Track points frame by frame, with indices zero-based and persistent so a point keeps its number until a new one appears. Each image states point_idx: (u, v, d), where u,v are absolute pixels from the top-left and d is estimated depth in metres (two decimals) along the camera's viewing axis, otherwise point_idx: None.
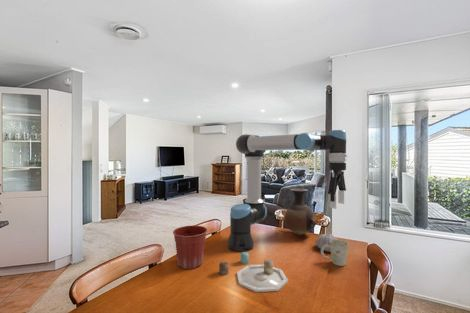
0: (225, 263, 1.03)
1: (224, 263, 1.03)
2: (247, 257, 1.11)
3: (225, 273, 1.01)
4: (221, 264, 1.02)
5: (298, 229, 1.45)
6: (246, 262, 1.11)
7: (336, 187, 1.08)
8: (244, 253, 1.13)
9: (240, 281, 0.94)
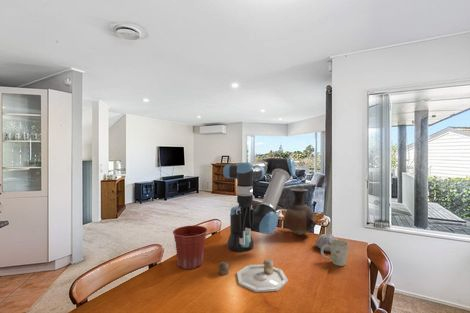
0: (225, 263, 1.03)
1: (224, 263, 1.03)
2: (247, 238, 1.12)
3: (225, 273, 1.01)
4: (221, 264, 1.02)
5: (298, 229, 1.45)
6: (246, 243, 1.11)
7: (243, 223, 1.10)
8: None
9: (240, 281, 0.94)
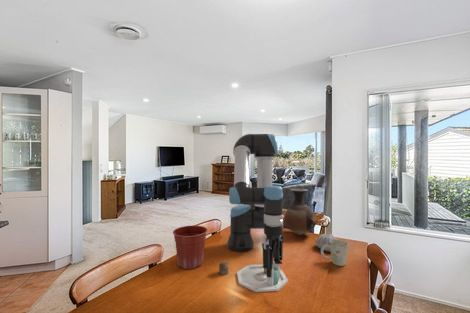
0: (225, 263, 1.03)
1: (224, 263, 1.03)
2: (276, 274, 0.93)
3: (225, 273, 1.01)
4: (221, 264, 1.02)
5: (298, 229, 1.45)
6: (275, 280, 0.93)
7: (272, 259, 0.92)
8: None
9: (240, 281, 0.94)
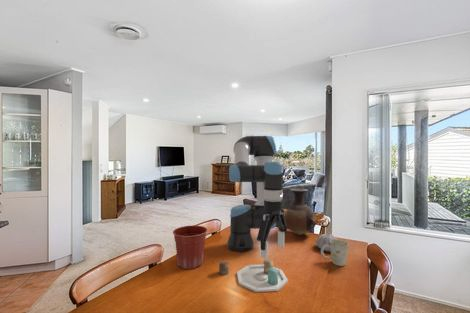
0: (225, 263, 1.03)
1: (224, 263, 1.03)
2: (276, 274, 0.93)
3: (225, 273, 1.01)
4: (221, 264, 1.02)
5: (298, 229, 1.45)
6: (275, 280, 0.93)
7: (268, 232, 0.90)
8: (272, 269, 0.95)
9: (240, 281, 0.94)
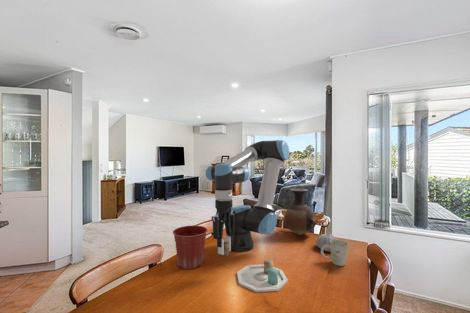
0: (226, 243, 1.03)
1: (225, 243, 1.03)
2: (276, 274, 0.93)
3: (226, 252, 1.01)
4: None
5: (298, 229, 1.45)
6: (275, 280, 0.93)
7: (222, 231, 1.00)
8: (272, 269, 0.95)
9: (240, 281, 0.94)
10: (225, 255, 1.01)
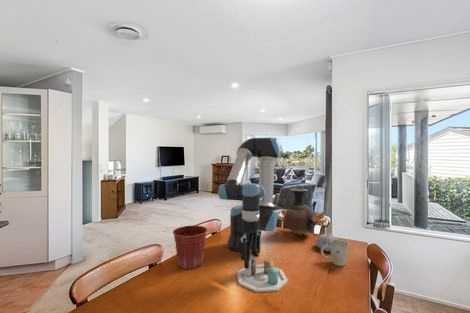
0: (252, 261, 1.02)
1: (251, 261, 1.02)
2: (276, 274, 0.93)
3: (252, 271, 1.00)
4: None
5: (298, 229, 1.45)
6: (275, 280, 0.93)
7: (249, 252, 0.99)
8: (272, 269, 0.95)
9: (240, 281, 0.94)
10: (252, 274, 1.00)
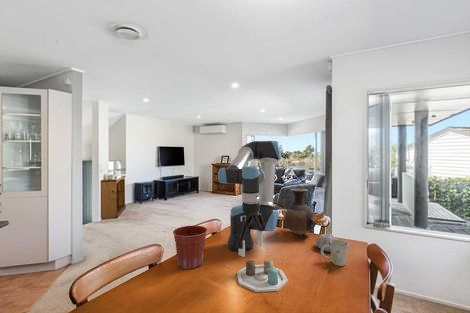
0: (252, 261, 1.02)
1: (251, 261, 1.02)
2: (276, 274, 0.93)
3: (252, 272, 1.00)
4: (248, 262, 1.01)
5: (298, 229, 1.45)
6: (275, 280, 0.93)
7: (245, 232, 0.97)
8: (272, 269, 0.95)
9: (240, 281, 0.94)
10: (252, 274, 1.00)
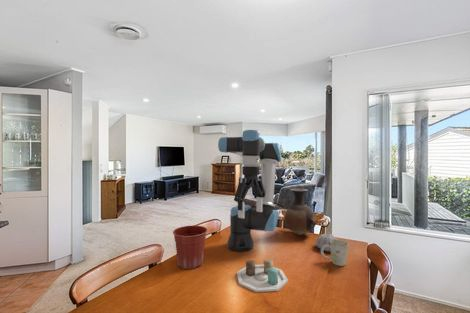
0: (252, 261, 1.02)
1: (251, 261, 1.02)
2: (276, 274, 0.93)
3: (252, 272, 1.00)
4: (248, 262, 1.01)
5: (298, 229, 1.45)
6: (275, 280, 0.93)
7: (245, 194, 0.97)
8: (272, 269, 0.95)
9: (240, 281, 0.94)
10: (252, 274, 1.00)
